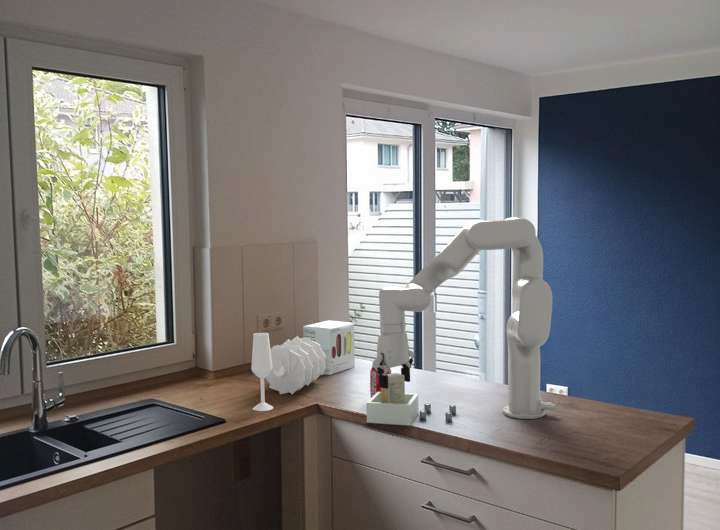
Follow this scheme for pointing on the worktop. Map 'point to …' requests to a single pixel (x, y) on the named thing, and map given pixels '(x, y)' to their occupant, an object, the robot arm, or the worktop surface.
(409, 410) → the bin
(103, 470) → the worktop surface
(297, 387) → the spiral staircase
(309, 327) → the supplement box
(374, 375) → the soda can
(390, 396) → the skincare box
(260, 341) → the champagne flute
